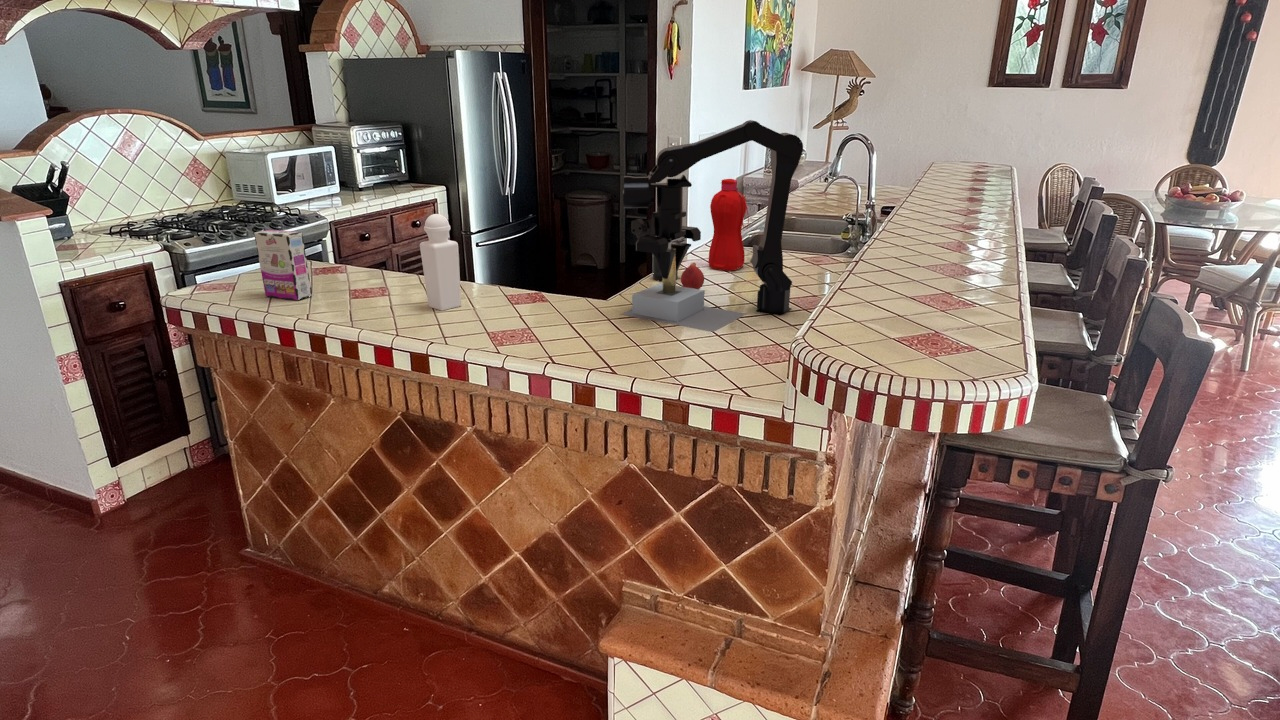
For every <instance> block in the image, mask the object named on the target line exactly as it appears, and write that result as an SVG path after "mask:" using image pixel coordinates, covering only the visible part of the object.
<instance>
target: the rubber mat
mask: <svg viewBox="0 0 1280 720" xmlns="http://www.w3.org/2000/svg"><path fill="white" fill-rule="evenodd" d="M620 315H621V316H627V317H632V318H637V319H643V320H648V321H652V322H653V321H654V322H657V323H663V324H669V325H674V326H678V327H679V326H680V327H684V328H690V329H696V330H701V331H704V332H705V331H706V332H711V333H714V332H716V331H718V330H720V329H723V328H724V327H726V326H727V325H729V324H731V323H733V322H734V321H736V320H738V319H740V318H741V317H743V316H745V315H747V313H746V312H740V311H733V310H729V309H722V308H717V307H716V308H715V307H712V306H711V307H710V306H705V305H704V309H703V310H701V311H699V312H697V313H695V314H693V315H691V316H689V317H686V318H684V319H682V320H680V321H678V322H675V321H670V320H665V319H659V318H654V317H649V316H643V315H638V314H633V313H632V308H631V309H628V310H627V311H625V312H622V313H620Z"/></svg>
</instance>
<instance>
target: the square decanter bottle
mask: <svg viewBox="0 0 1280 720" xmlns="http://www.w3.org/2000/svg"><path fill="white" fill-rule="evenodd" d="M423 231H424V232H425V233H426V236H427V237H428V240H425V241H422V242H420V243H419V250H420V256H421V261H422V262H421V263H422V269H423V276H424V283H425V290H426V296H427V302H428V307H429V308H432V309H435V310H438V311H442V312H444V311H447V310H450V309H451V308H452V309H456V308H459V306H460V307H461V306H462V297H461V295H462V293H461V277H460V275H461V274H460V254H459V244H458V242H457V241H456V240H450V239H449V233H450V231H451V225H450V223H449V221H448V219H447V217H445V216H444V215H442V214H440V213H434V214H430V215H429V216H428V217H427V218H426V220H425V222H424V226H423ZM455 307H456V308H455Z"/></svg>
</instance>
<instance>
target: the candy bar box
mask: <svg viewBox="0 0 1280 720" xmlns="http://www.w3.org/2000/svg"><path fill="white" fill-rule="evenodd" d="M253 233H254V240H255V245H256V250H257V255H258V261H259V266H260V267H259V268H260V272H261V278H262V282H263V283H262V285H263V289H264V295H265V297H266V296H270V297H269V298H272V297H278V298H277V299H280V298H284V299H283V300H289V299H292V300H291V301H297V300H299V301H301V300H300V299H302V300H304V299H303V298H305V299H307V298H306V297H309V296H311V295H312V296H313V292H312V286H311V280H310V273H309V266H308V261H307V255H306V248H305V243H304V236H303V232H302V231H293V230H281V229H280V230H277V229H266V230H265V229H264V230H259V231H256V232H253ZM312 296H311V297H312ZM309 298H310V297H309Z"/></svg>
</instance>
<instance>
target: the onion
mask: <svg viewBox="0 0 1280 720" xmlns="http://www.w3.org/2000/svg"><path fill="white" fill-rule="evenodd" d="M696 265H697V263H696V262H695V261H694V262H693V261H692V262H691V263H690V265H689V266H687V267H686V268H685V269H684V270H683V271H682V273H681V277H680V284H681V285H682V286H681V287H687V288H693V289H700V290H701V288H702V287H703V285H704V283H705V275H704V273H703V271H702V269H700V268H699V267H697V266H696Z"/></svg>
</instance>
